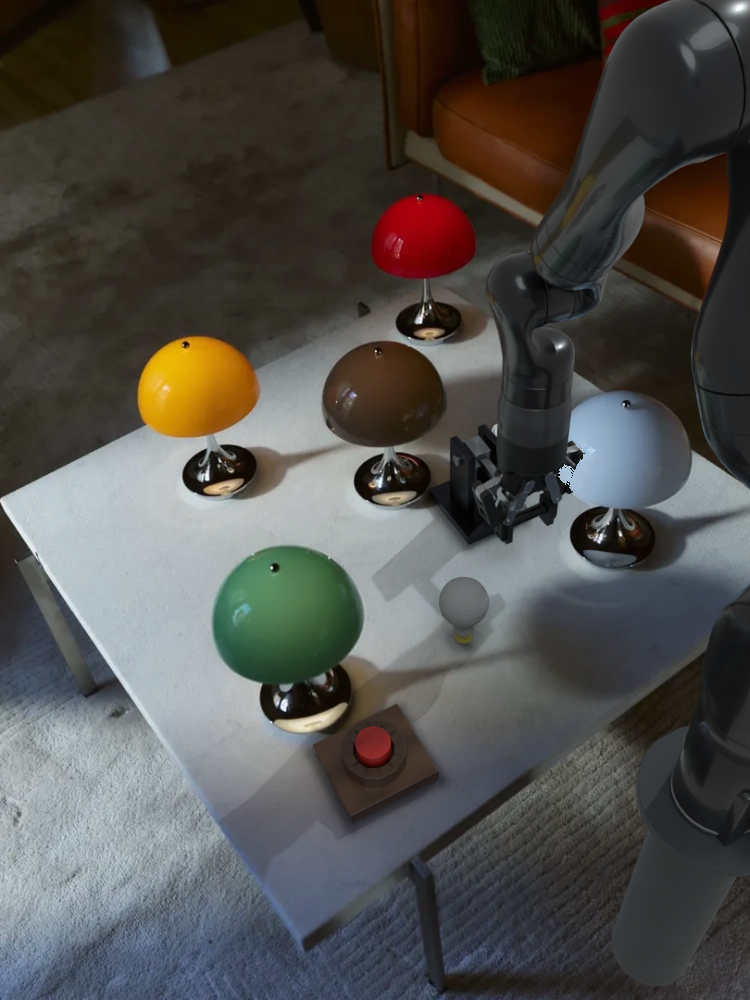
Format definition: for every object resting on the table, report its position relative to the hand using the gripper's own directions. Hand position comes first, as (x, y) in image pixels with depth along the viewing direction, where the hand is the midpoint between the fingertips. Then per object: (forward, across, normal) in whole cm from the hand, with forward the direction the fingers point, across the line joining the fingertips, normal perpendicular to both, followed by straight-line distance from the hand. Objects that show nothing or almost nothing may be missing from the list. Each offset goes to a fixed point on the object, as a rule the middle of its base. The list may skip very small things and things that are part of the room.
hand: (525, 529), depth 111 cm
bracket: (+6, 0, +11) cm, 13 cm away
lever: (-2, 0, +6) cm, 6 cm away
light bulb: (+7, -12, -6) cm, 15 cm away
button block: (+7, -28, -15) cm, 32 cm away
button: (+4, -28, -15) cm, 32 cm away
